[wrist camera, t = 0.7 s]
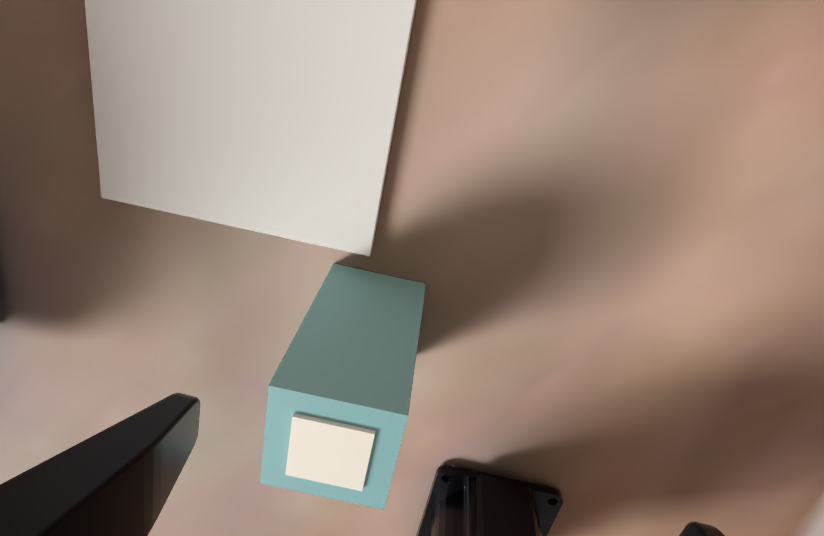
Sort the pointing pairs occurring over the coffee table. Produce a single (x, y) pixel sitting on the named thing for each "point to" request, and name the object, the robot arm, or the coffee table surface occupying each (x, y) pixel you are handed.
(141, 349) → the coffee table surface
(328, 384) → the block
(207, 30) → the mat
